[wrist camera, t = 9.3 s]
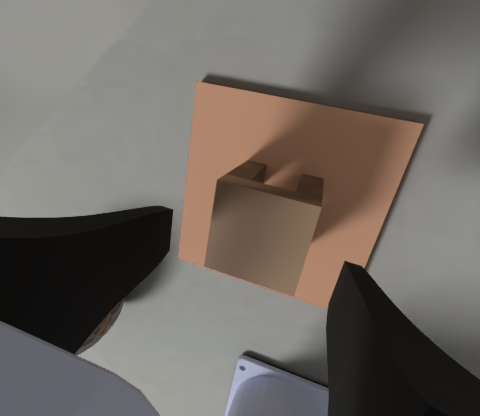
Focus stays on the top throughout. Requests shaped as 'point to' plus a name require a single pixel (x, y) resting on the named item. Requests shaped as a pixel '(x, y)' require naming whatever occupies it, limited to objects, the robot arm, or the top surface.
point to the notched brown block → (262, 227)
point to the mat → (298, 172)
